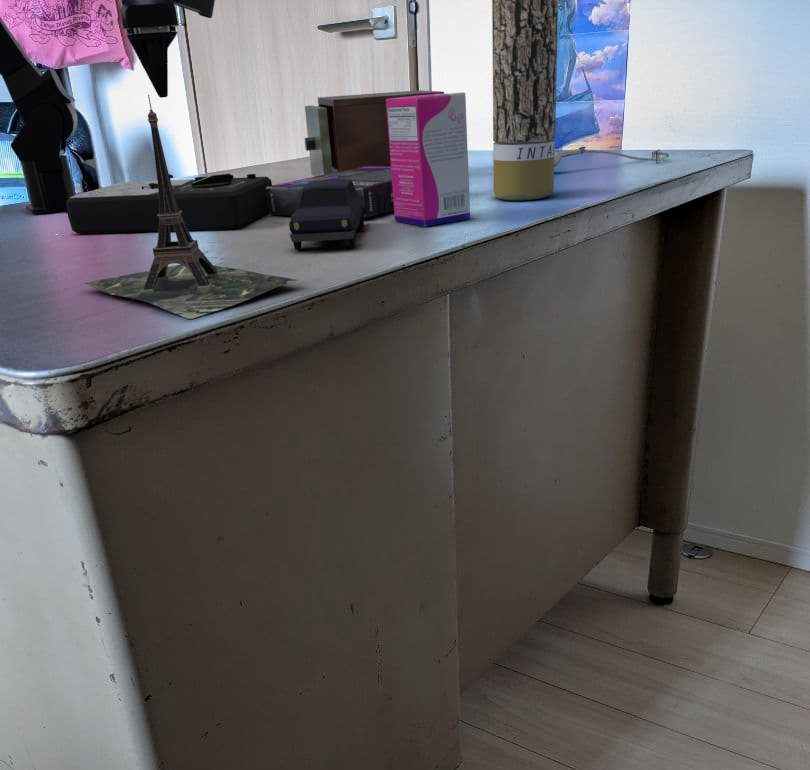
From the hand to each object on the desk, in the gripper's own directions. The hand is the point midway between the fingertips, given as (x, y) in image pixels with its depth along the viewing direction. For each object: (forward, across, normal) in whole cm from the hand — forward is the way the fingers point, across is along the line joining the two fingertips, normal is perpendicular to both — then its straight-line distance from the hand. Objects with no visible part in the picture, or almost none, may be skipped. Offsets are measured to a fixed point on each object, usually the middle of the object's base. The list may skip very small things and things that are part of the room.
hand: (163, 97), depth 110 cm
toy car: (+12, -42, -13) cm, 45 cm away
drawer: (+11, 0, -25) cm, 27 cm away
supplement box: (+12, -37, -24) cm, 46 cm away
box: (+12, -22, -21) cm, 33 cm away
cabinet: (+12, 0, -28) cm, 30 cm away
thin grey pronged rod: (+13, -9, -57) cm, 59 cm away
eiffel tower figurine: (+12, -58, +1) cm, 59 cm away
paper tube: (+12, -28, -38) cm, 49 cm away
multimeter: (+12, -22, +1) cm, 25 cm away
